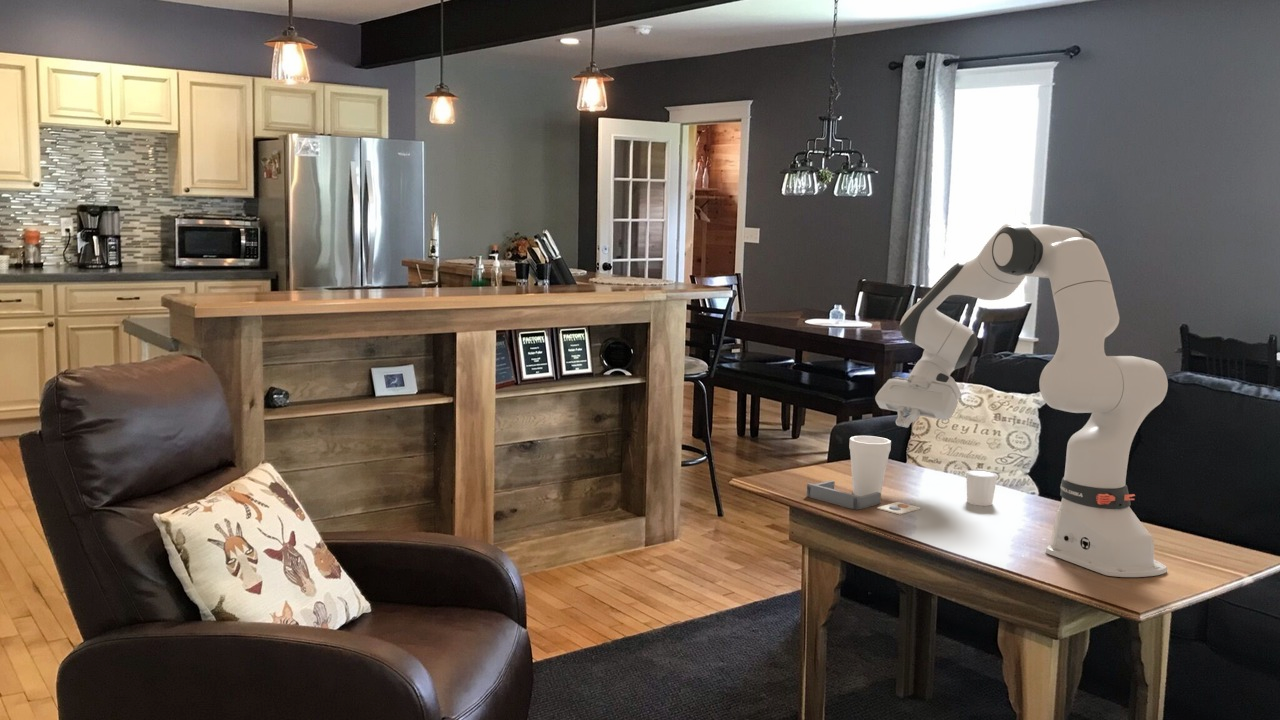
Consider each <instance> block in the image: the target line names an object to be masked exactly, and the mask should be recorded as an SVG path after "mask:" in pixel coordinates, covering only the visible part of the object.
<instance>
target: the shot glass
mask: <svg viewBox="0 0 1280 720" xmlns="http://www.w3.org/2000/svg"><path fill="white" fill-rule="evenodd" d="M997 480H998V474H997V473H995V472H992V471H990V470H989V471H988V470H984V469H983V470H980V469H971V470H967V471H966V502H967V503H968V504H971V505H973V506H979V507H982V506H983V507H984V506H985V507H987V506H992V505H993V502H994V494H995V491H996V483H997Z"/></svg>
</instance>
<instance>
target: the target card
mask: <svg viewBox="0 0 1280 720" xmlns="http://www.w3.org/2000/svg"><path fill="white" fill-rule="evenodd" d="M876 509H878V510H881V511H885V512H888V513H893V514H896V515H899V516H900V515H905V514H908V513H911V512H914V511H918V510H921V507H920V506H916V505H915V506H914V505H912V504H908V503H904V502H900V501H896V502H892V503H888V504H885V505H881V506H877V507H876Z"/></svg>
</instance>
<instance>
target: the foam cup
mask: <svg viewBox="0 0 1280 720" xmlns="http://www.w3.org/2000/svg"><path fill="white" fill-rule="evenodd" d="M848 446H849V447H848V448H849V452H850V453H849V455H850V465H851V466H850V469H851V482H852V492H853V493H852V494H854V495H858V496H864V495H868V494H871V493H875V492H879V493H881V494H882V490H883V485H884V480H885V477H886V471H887V466H888V460H889V455H890V452H891V449H892V448H891V446H892V440H890V439H888V438H885V437H882V436H881V437H880V436H874V435H854V436H851V437H850V438H849V445H848Z"/></svg>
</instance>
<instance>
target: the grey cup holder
mask: <svg viewBox="0 0 1280 720" xmlns="http://www.w3.org/2000/svg"><path fill="white" fill-rule="evenodd" d="M835 482H836V481H835V480H827V481H823V482H818V483H807V484H806V497H807V498H810V499H815V500H818V501H821V502H822V501H823V502H826V503H829V504H833V505H837V506H840V507H843V508H848V509H851V510H855V511H857V510H863V509H865V508H869V507H874V506H877V505H880V504H881V499H882V496H881V495H882V492H881V493H879V492H875V493H871V494H868V495H864V496H858V495H855V494H853V493H850V492H845V491H842V490H837V489H835Z"/></svg>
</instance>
